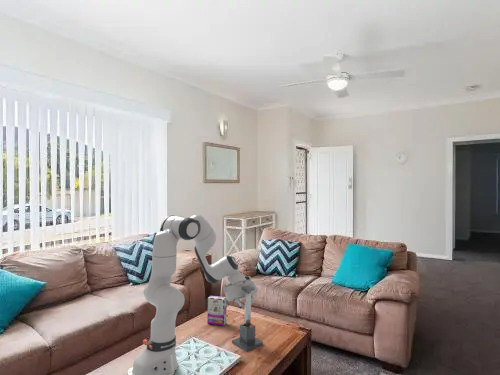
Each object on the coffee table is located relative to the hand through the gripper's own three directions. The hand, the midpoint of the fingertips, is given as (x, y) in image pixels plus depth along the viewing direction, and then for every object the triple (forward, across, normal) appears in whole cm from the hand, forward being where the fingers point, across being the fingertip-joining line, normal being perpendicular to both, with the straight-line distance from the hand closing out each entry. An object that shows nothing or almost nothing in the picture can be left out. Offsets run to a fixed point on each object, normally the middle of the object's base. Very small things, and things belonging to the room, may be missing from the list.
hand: (247, 304), depth 177 cm
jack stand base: (+15, 0, +15) cm, 21 cm away
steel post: (+10, 0, +10) cm, 14 cm away
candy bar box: (-7, +2, +38) cm, 38 cm away
